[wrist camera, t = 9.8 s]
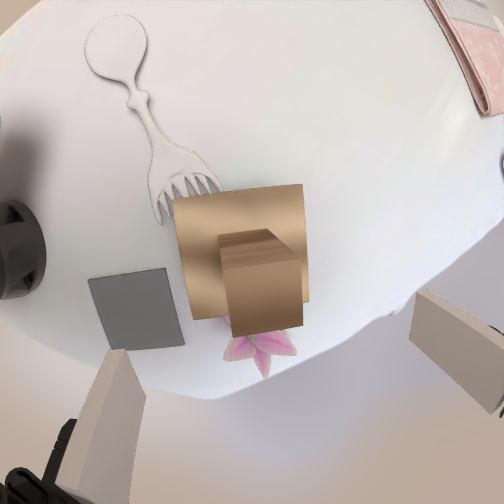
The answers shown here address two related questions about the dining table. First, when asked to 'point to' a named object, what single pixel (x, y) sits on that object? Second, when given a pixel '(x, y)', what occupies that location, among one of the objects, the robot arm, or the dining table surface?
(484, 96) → the towel
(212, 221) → the lid
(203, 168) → the white spork
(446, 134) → the dining table surface
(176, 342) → the plate
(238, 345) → the lily
